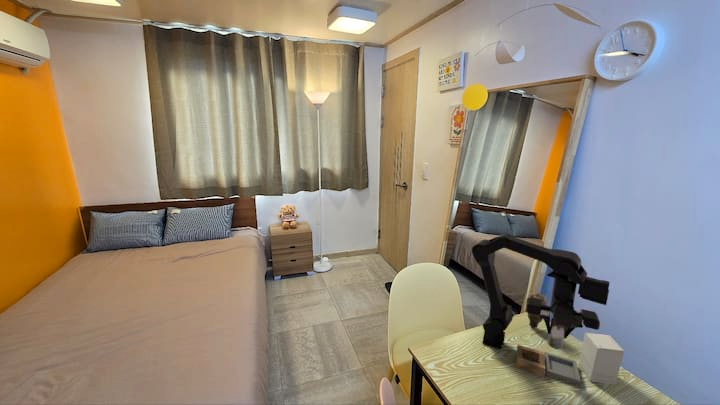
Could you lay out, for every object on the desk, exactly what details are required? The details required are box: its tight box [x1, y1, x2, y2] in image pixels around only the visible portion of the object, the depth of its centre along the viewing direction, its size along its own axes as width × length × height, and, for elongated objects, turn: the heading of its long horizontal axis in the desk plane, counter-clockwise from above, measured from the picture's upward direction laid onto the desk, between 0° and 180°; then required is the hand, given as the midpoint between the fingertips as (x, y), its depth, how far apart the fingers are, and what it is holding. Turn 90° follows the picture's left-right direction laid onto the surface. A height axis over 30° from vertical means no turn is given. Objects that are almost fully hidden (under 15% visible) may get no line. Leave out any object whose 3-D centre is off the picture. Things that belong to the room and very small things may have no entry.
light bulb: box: [527, 292, 548, 329], centre depth 114 cm, size 6×6×15 cm
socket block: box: [515, 344, 546, 377], centre depth 98 cm, size 8×8×3 cm
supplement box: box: [578, 332, 625, 385], centre depth 93 cm, size 7×7×13 cm
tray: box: [543, 351, 581, 387], centre depth 96 cm, size 9×9×2 cm
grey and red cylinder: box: [547, 316, 566, 350], centre depth 93 cm, size 4×4×9 cm
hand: (556, 335), depth 93 cm, fingers closed on grey and red cylinder, 4 cm apart
